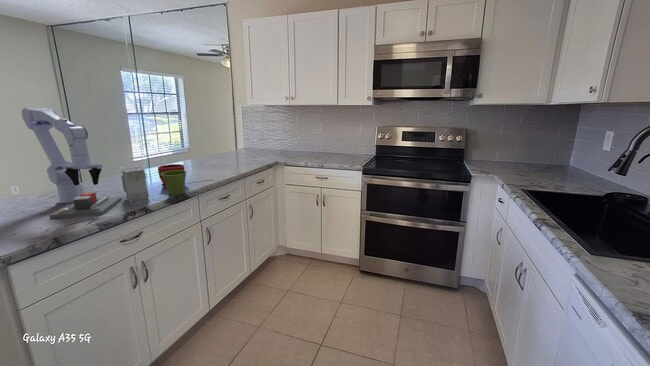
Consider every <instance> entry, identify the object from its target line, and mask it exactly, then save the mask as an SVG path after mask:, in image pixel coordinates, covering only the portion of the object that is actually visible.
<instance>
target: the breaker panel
mask: <svg viewBox="0 0 650 366" xmlns="http://www.w3.org/2000/svg"><path fill="white" fill-rule="evenodd" d="M122 200H123V199H122V196H121V197H120V196H119V197H118V196H117V197H109V196H103V198H97V202H96V203H95V204H93V205H92V206H90V208H85V209H75V205H74V202H72V203H68V204H67V205H66V206H65V205H64V206H63V207H61V208H60V209H59V208H58V210H56V211H54V212H52V213H51V214H48V217H49V219H50V220H51V219H61V218H63V219H64V218H76V217H77V216H78V217H88V216H87V215H91V216H102V215H101V214H103V215H105V214H106V213H107V212H108V211H109V210H111V209H112V208H114V207H115V206H116V205H117V204H119V203H120V202H121V201H122Z"/></svg>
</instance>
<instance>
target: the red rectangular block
mask: <svg viewBox="0 0 650 366" xmlns="http://www.w3.org/2000/svg"><path fill="white" fill-rule="evenodd" d="M79 195H80V197H82V196H91V199H92V204H95V203H96V202H97V199H98V197H97V193H96V192H92V191H87V192H83V194H79Z"/></svg>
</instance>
